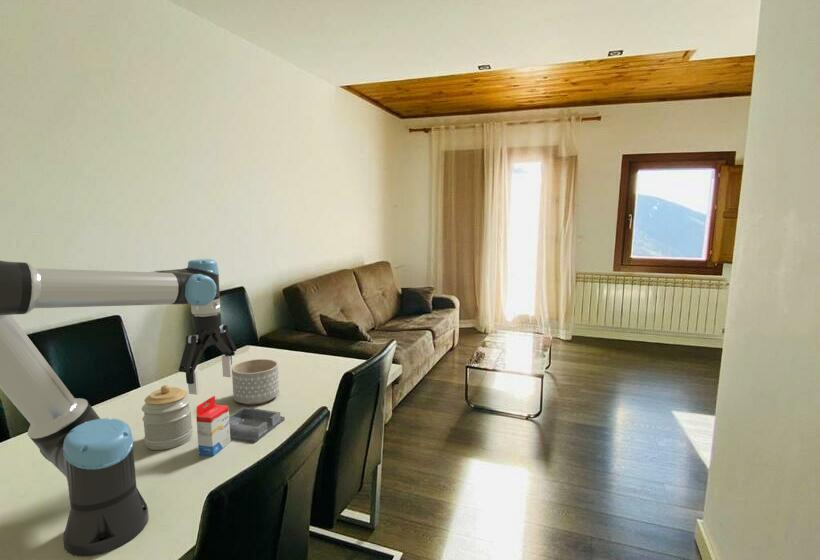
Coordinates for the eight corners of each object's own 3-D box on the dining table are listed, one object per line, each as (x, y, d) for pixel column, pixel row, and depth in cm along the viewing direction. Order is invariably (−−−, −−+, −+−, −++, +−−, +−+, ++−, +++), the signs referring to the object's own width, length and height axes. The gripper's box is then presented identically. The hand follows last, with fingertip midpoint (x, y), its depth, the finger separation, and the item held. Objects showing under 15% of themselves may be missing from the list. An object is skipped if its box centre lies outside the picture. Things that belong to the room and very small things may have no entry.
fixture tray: (255, 442, 130) (254, 431, 130) (214, 435, 134) (213, 425, 134) (284, 419, 145) (284, 409, 145) (247, 414, 150) (246, 404, 149)
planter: (224, 404, 158) (222, 371, 156) (250, 387, 173) (249, 357, 172) (263, 409, 154) (262, 375, 152) (287, 391, 170) (285, 360, 168)
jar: (201, 436, 134) (198, 382, 132) (160, 455, 123) (155, 397, 121) (177, 426, 141) (173, 374, 138) (136, 443, 130) (131, 388, 127)
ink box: (213, 456, 123) (210, 408, 121) (198, 454, 124) (194, 406, 122) (231, 441, 131) (228, 396, 129) (217, 440, 132) (214, 394, 130)
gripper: (182, 324, 109) (189, 403, 112) (246, 305, 132) (249, 371, 135) (159, 322, 111) (166, 400, 114) (225, 304, 135) (229, 369, 138)
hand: (211, 384), depth 125 cm, fingers open, 13 cm apart
